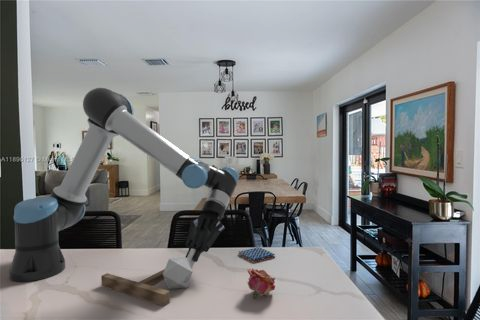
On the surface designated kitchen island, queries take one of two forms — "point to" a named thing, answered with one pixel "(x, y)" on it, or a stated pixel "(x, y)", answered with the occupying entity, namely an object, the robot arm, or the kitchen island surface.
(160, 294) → the walnut T rail
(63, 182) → the robot arm
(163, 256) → the kitchen island surface
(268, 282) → the flower
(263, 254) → the woven mat
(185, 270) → the die
